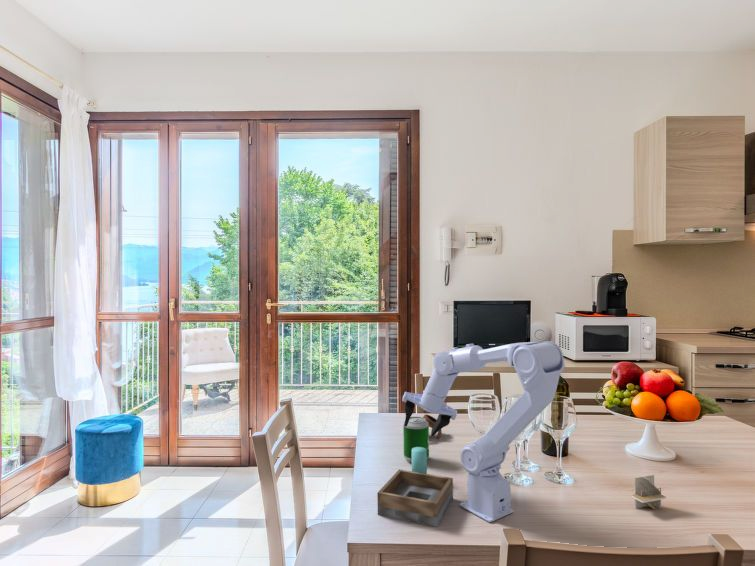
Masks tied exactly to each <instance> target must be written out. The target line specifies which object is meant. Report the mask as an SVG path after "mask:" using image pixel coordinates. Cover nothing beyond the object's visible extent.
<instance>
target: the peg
mask: <svg viewBox="0 0 755 566" xmlns="http://www.w3.org/2000/svg"><path fill="white" fill-rule="evenodd" d="M427 461H428V459H427V451H426V449H425V448H423V447H414V448H412V463H411V471H412V472H418V473H424V474H428V465H427V463H428V462H427Z"/></svg>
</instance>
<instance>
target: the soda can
mask: <svg viewBox="0 0 755 566" xmlns="http://www.w3.org/2000/svg"><path fill="white" fill-rule="evenodd" d="M423 417H424V416H411V417H410V419H409V422H408V425H407V427H406V426H404V423H405V420H404V421H403V425H402V426H403V458H404V459H405V460H406V461H407V462H408V463H411V464H412V448H414V447H423V448H425V449H426V451H427V460H428V459H429V457H430V440H429V437H430V432H429V431H430V429H429V428H430V427H429V424H428V422H427V421H426V419H425V418H423Z"/></svg>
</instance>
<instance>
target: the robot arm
mask: <svg viewBox="0 0 755 566" xmlns="http://www.w3.org/2000/svg"><path fill="white" fill-rule="evenodd" d="M506 361H507V362H508V364H509V367H514V370H515V372H516V375H517V376H518V378H519V380H520V384H521V386H522V388H523V390H524V392H522V394H521V395H519V397H518V398H517V399H516V401H514V402H513V404H512V405H511V406H510V407H509V408H508V409H507V410H506V411H505V412H504V413H503V414H502V415H501V416H500V418H499V419H498V420H496V422H495V423H494V425H493V426H491V428H490V429H489V430H488V431H487V432H486V433H485V434H484V435H482V436H481V437H479V438H477V439H475V440H474V441H473V442H472V443H471V444H467V445H466V444H465V445H464V446H463V447H462V448H461V450H460V455H459V456H460V462H461V464H462V467H463V468H464V469H465V472H467V500H466V501H463V502H461V503H459V507H461V508H463V509H465V510H466V511H469V512H470V513H472V514H474V515H475V516H477V517H479V518H481V519H483V520H484V521H486V522H489V523H493V522H495V521H496V520H499V519H501V518H503V517H506V516H508V515H510V514H512V513H513V512H514V509H512V507H511V505H512V504H511V502H512V501H511V491H512V490H511V484H510V481H509V480H508V479H507V478H505V477H504V476H503V475H502V474H501V472H500V469H502V468H501V467H502V466H501V464H503V463H504V462H505V460H506V455H507V453H508V451H509V450H511V448H510V445H511V443H512V442H514V441H515V440H516V438H518V436H519V435H520V434H522V432H523V431H524V430H525V429H526V428H528V426H529V425H530V424H532V422H533V421H534V420H535V419H536V418H537V417H538V416H539V415H540V414H541V413H542V412H543V411H544V410H545V409H546V408H547V407H548V406H549V405H550V404H551V402H553V401H554V399H555V397H556V393H557V389H558V384H559V381H560V376H561V374H562V373H563V370H564V369H565V368H566V364H565V359H564V355H563V351H562V349H561V347H560V346H559V345H558V343H557V344H556V343H555V342H553V341H550V340H548V341H547V340H544V341H542V342H539V341H528V342H525V341H524V342H515V343H509V344H503V345H499V346H495V347H490V348H484V349H483V348H482V346H480V345H478V344H477V345H475V344H474V343H467V344H465V346H464V347H460V348H459V347H458V346H456V347H452V348H451V350H440V351H439V352H436V354H434V357H433V361H432V363H433V367H434V368H433V370H432V373H431V374H430V377H429V379H428V382H427V384H426V385H425V388H424V390H423V393H422V394H421V393H414V392H407V391H404V394H403V395H402V401H401V402H404V403H405V405H404V410H405V419H404V421H405V423H404V426H406V427H407V425H408V422H409V419H410V417H412V415H413V413H414V410H415V408H416V407H415V406H418V407H419V408H421V409H422V410H424V411H425V412H428V413H430V414H435V415H437V414H438V416H437V418H436V422H435V424H434V426H433V428H431V433H430V436H431V437H434V436H435V435H436V434H438V431H439V430H440V429H441V430H442V429H443V428H445V427H447V426H448V425H449V424H450V423H451V420H453V421H455V419H456V418H457V415H458V410H457V409H455V408H453V407H451V406H449V405H447V404H446V403H444V402H445V401H446V398H447V396H448V393H449V392H450V390H451V388H452V386H453V383H454V381H455V379H456V378H457V377H458V376H459V373H464V372H474V371H479V370H482V369H484V368H485V367H486V365H487V364H488V363H496V362H506ZM486 363H487V364H486Z"/></svg>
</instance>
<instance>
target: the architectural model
mask: <svg viewBox="0 0 755 566" xmlns="http://www.w3.org/2000/svg"><path fill="white" fill-rule="evenodd" d="M631 497H632V498H633V499H634V509H641V508H646V507H650V508H652V509H653V510H655V509H656V507H657V508H659V509H662V500H666V499H667V496H665V495H663V494H662V488H661V487H659V488H658V487H657V486H656V485H655V475H654V474H648V475H644V476H643V475H642V476H635V477H634V494H631Z"/></svg>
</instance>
